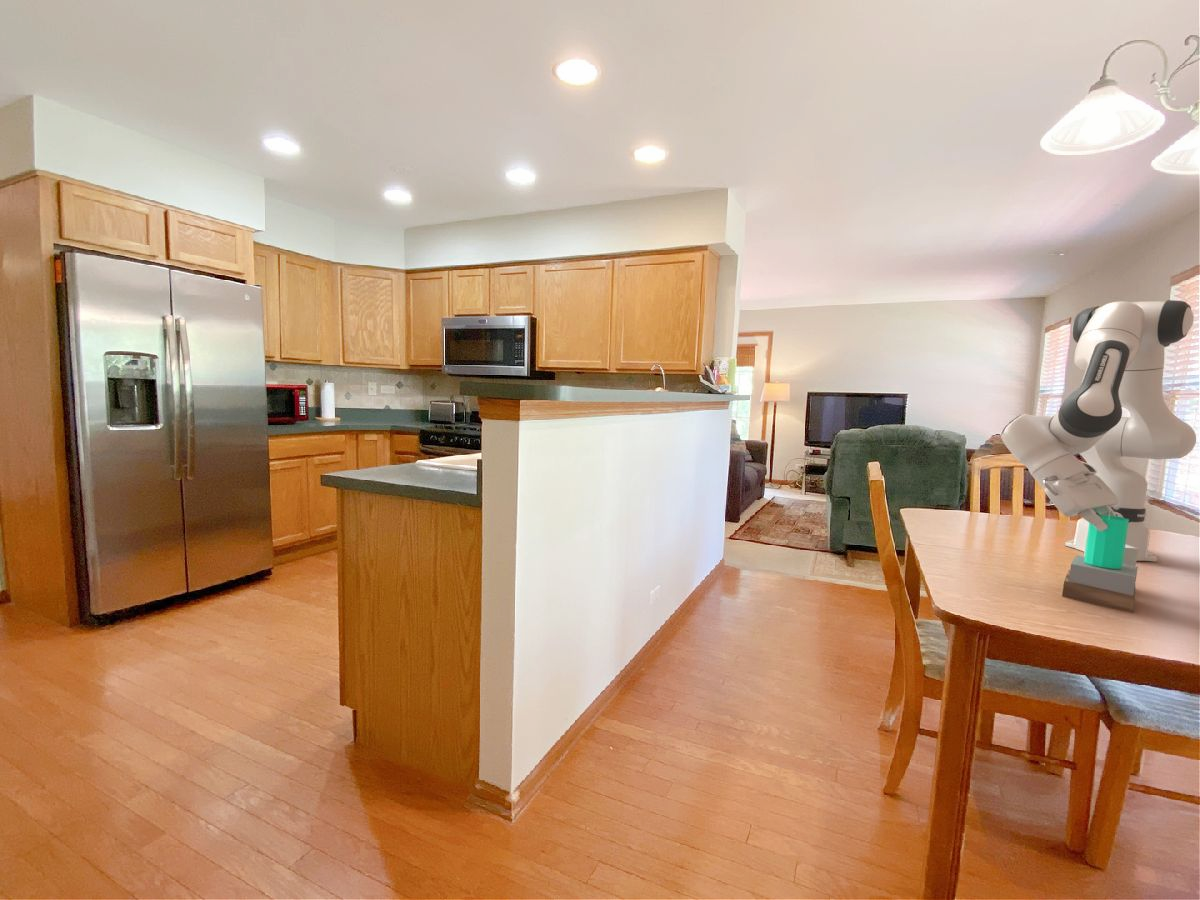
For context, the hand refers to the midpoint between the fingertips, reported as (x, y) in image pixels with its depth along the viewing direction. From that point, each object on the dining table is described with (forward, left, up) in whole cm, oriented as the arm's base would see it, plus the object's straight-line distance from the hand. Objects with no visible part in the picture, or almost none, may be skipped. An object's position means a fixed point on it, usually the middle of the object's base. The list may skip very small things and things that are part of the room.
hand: (1111, 528), depth 113 cm
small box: (-12, 0, -16) cm, 20 cm away
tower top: (0, 0, -12) cm, 12 cm away
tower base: (-1, -1, -16) cm, 16 cm away
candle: (0, -1, -8) cm, 8 cm away
